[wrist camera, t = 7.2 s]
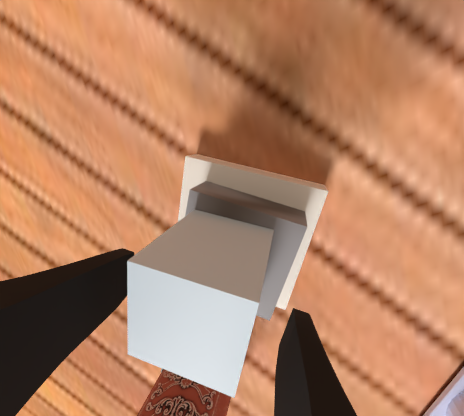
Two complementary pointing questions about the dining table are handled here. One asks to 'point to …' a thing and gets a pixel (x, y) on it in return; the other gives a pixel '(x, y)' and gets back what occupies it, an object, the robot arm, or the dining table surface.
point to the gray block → (198, 298)
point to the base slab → (263, 186)
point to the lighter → (183, 398)
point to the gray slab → (261, 214)
